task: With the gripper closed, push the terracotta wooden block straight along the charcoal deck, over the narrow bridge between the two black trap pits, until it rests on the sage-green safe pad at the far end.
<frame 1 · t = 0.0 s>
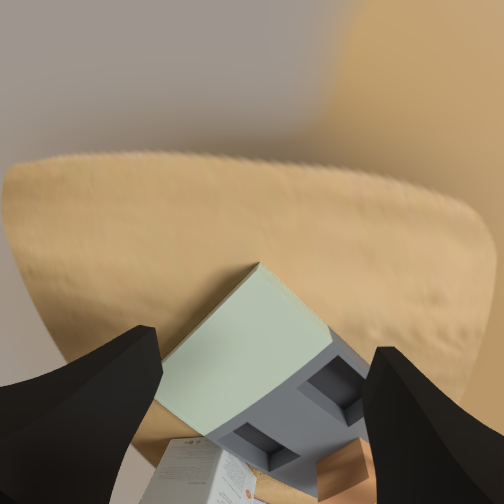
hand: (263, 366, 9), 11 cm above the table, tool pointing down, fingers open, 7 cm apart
orange block: (352, 459, 18), point 2 cm above the table, touching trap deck
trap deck: (298, 406, 20), on the table
small box: (215, 459, 23), on the table
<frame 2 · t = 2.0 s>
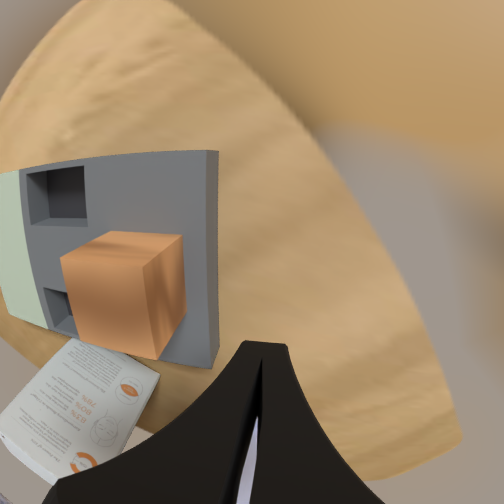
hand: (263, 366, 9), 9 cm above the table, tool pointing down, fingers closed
orange block: (147, 271, 15), point 2 cm above the table, touching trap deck
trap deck: (82, 249, 18), on the table
small box: (116, 368, 22), on the table
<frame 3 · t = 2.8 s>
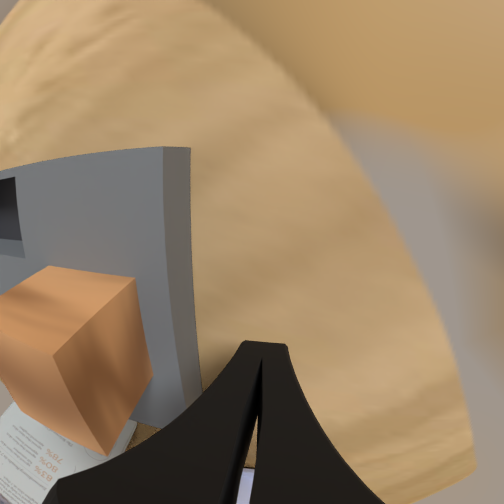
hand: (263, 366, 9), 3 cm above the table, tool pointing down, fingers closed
orange block: (97, 322, 10), point 2 cm above the table, touching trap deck
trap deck: (34, 277, 13), on the table
small box: (90, 408, 17), on the table
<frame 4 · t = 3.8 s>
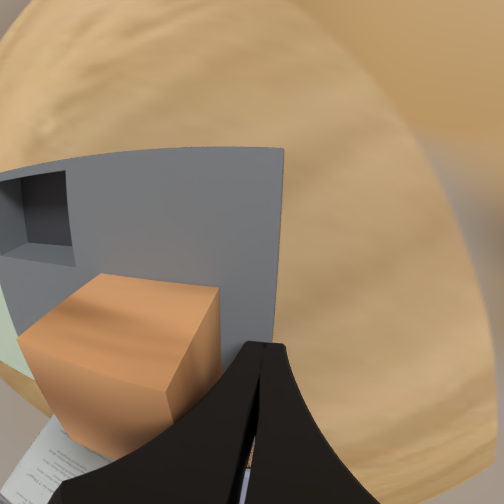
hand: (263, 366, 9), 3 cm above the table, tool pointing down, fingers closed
orange block: (161, 335, 10), point 3 cm above the table, touching gripper
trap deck: (72, 286, 13), on the table
small box: (126, 422, 17), on the table
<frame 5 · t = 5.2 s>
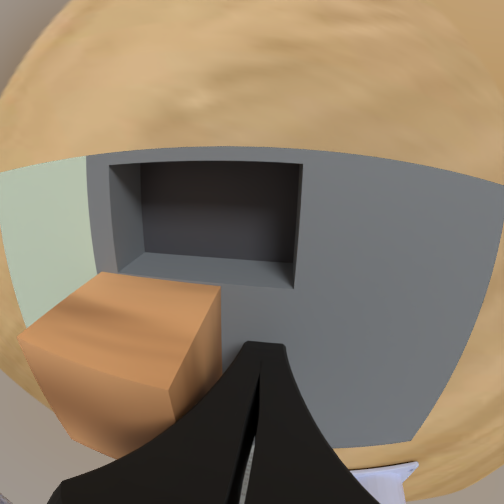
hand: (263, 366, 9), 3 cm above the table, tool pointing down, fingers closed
orange block: (161, 334, 10), point 3 cm above the table, touching gripper
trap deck: (217, 307, 12), on the table
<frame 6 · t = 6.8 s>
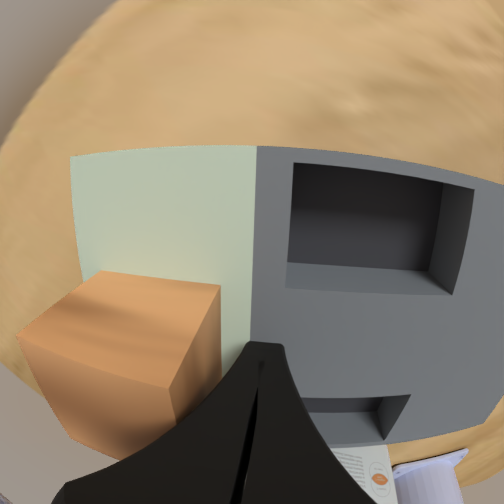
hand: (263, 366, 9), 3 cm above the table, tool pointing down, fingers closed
orange block: (161, 333, 10), point 3 cm above the table, touching gripper, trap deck
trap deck: (350, 317, 11), on the table
small box: (315, 452, 15), on the table
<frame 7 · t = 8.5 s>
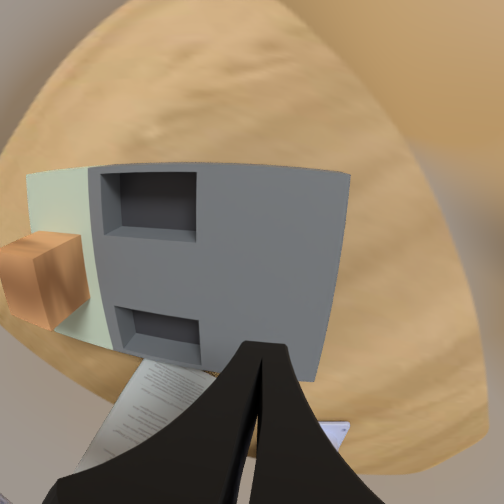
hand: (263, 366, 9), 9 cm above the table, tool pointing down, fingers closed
orange block: (62, 263, 17), point 2 cm above the table, touching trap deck
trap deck: (165, 262, 18), on the table
small box: (185, 385, 22), on the table
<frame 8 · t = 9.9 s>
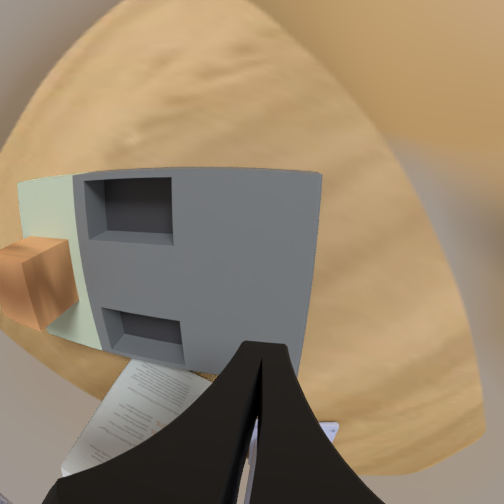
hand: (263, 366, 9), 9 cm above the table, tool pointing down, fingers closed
orange block: (52, 267, 17), point 2 cm above the table, touching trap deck
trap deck: (148, 265, 19), on the table
small box: (174, 385, 23), on the table
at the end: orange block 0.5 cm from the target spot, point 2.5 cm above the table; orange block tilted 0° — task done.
